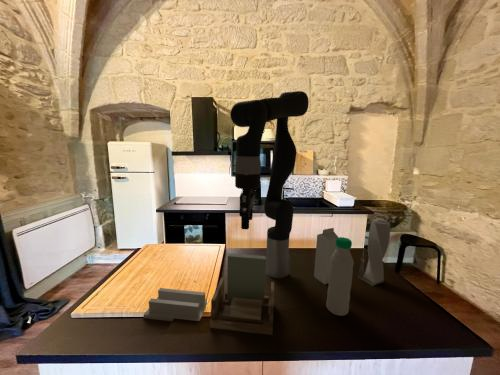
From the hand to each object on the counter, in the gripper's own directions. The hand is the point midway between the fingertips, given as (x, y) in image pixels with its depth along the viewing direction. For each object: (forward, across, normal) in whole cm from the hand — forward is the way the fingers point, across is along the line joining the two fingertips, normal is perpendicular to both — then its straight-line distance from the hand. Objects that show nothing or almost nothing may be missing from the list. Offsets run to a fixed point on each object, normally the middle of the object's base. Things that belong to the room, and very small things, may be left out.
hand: (247, 224), depth 68 cm
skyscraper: (+30, -25, +50) cm, 64 cm away
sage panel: (+29, 0, 0) cm, 29 cm away
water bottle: (+30, -5, +30) cm, 43 cm away
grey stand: (+30, +3, -22) cm, 37 cm away
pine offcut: (+26, +6, +1) cm, 26 cm away
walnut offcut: (+29, +6, 0) cm, 29 cm away
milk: (+30, -23, +30) cm, 48 cm away
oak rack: (+30, +3, 0) cm, 30 cm away
